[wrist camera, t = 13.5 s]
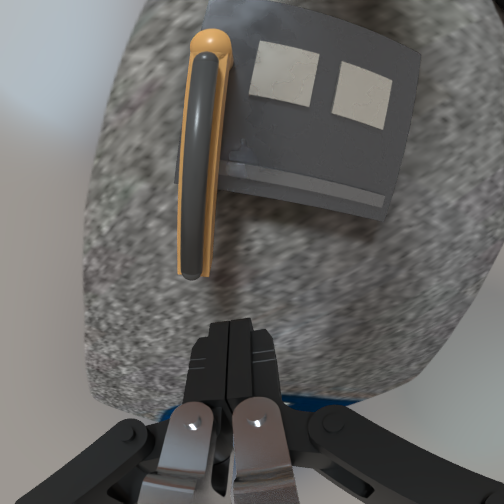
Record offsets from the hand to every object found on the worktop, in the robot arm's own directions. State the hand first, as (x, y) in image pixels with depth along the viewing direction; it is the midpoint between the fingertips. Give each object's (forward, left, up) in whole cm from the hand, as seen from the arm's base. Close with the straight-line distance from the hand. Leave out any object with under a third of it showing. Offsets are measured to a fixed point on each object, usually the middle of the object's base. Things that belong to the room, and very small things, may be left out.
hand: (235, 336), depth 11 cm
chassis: (-11, +4, -19) cm, 22 cm away
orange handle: (-5, -4, -15) cm, 17 cm away
